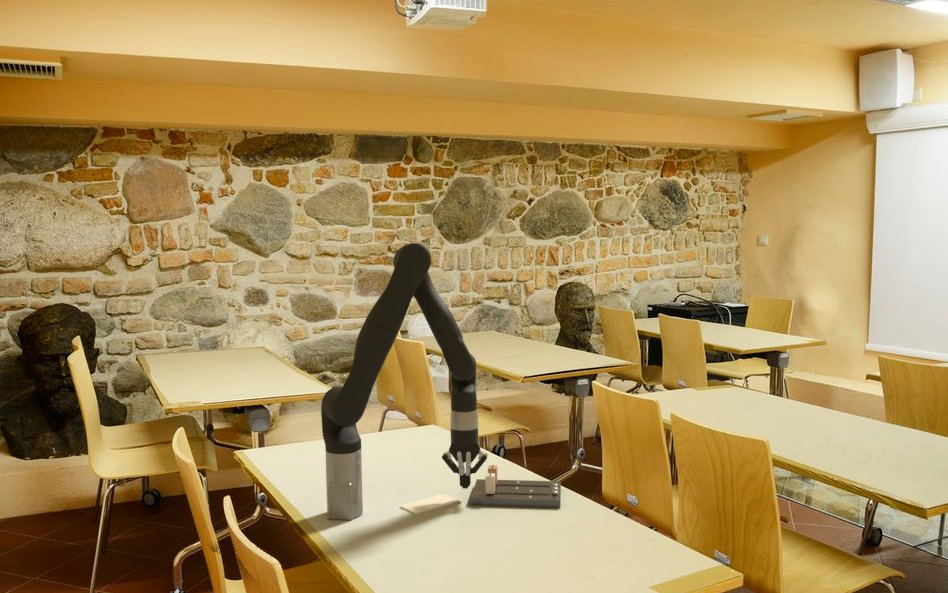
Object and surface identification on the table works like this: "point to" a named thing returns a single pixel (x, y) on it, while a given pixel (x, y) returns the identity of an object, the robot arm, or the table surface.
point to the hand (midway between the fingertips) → (465, 487)
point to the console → (518, 494)
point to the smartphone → (429, 503)
